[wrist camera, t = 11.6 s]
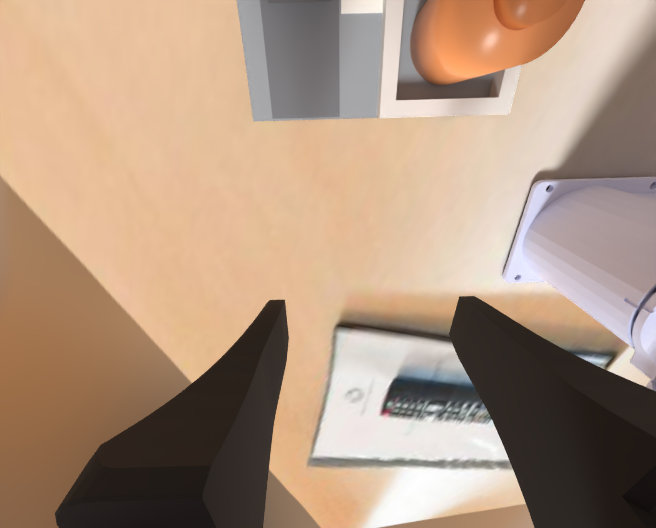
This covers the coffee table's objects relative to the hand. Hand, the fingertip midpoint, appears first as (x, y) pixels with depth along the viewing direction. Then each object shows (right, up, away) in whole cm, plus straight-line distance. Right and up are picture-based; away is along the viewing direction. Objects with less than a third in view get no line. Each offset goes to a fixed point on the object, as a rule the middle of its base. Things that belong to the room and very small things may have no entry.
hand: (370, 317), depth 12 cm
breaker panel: (+1, +15, +3) cm, 15 cm away
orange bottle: (+4, +14, +2) cm, 15 cm away
